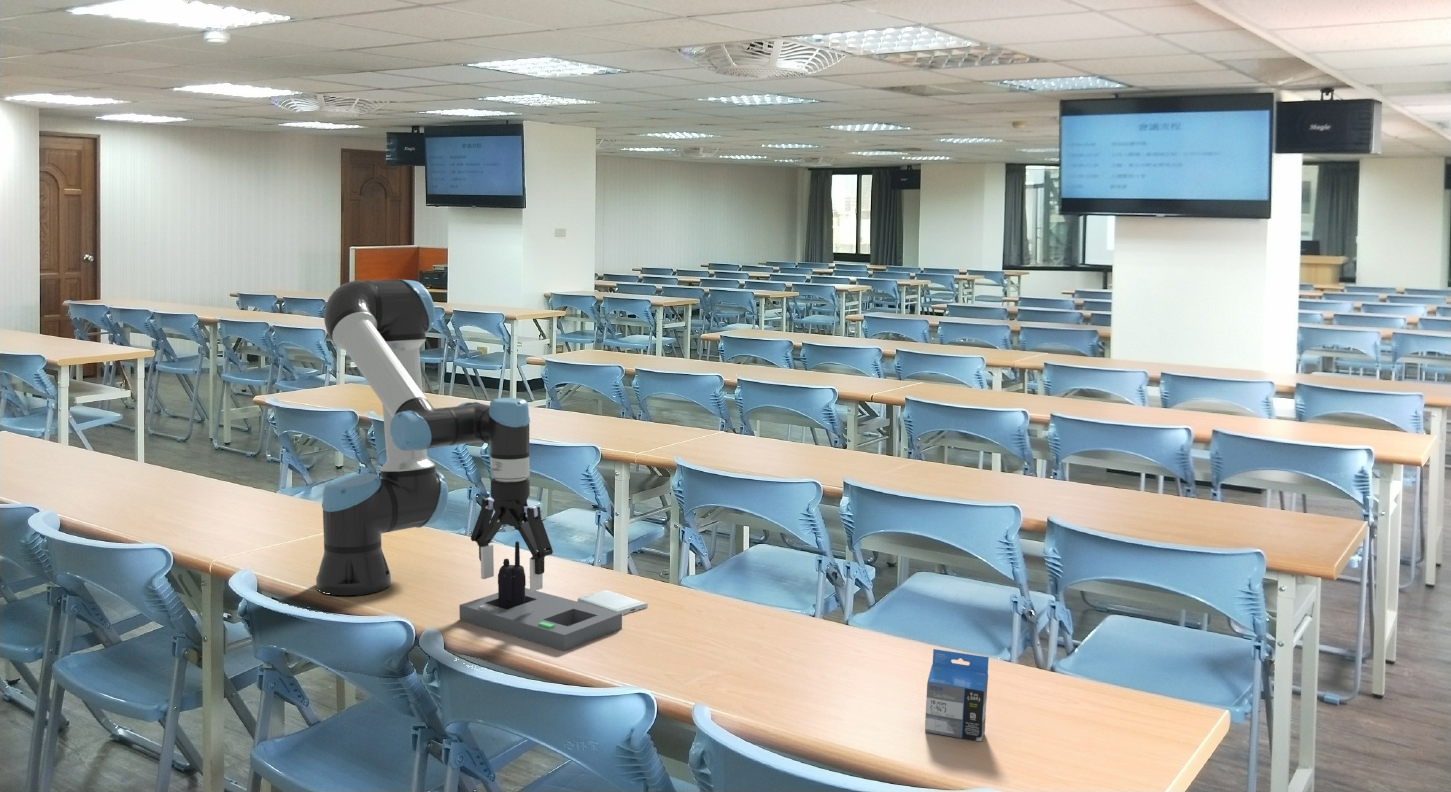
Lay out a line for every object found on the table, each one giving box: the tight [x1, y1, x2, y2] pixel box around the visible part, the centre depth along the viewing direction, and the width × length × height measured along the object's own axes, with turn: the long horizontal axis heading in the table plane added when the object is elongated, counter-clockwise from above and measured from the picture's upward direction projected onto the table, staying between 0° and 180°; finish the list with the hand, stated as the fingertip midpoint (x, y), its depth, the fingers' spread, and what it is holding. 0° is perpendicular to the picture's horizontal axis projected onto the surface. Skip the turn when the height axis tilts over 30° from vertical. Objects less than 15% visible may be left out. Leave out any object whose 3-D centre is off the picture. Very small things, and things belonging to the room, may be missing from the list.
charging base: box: [459, 587, 623, 652], centre depth 233 cm, size 28×16×3 cm, turn 54°
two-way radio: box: [497, 540, 527, 609], centre depth 236 cm, size 6×4×15 cm
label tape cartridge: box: [924, 648, 990, 742], centre depth 185 cm, size 9×4×12 cm, turn 69°
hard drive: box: [577, 589, 649, 615], centre depth 246 cm, size 2×8×12 cm
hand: (511, 583), depth 236 cm, fingers open, 13 cm apart
